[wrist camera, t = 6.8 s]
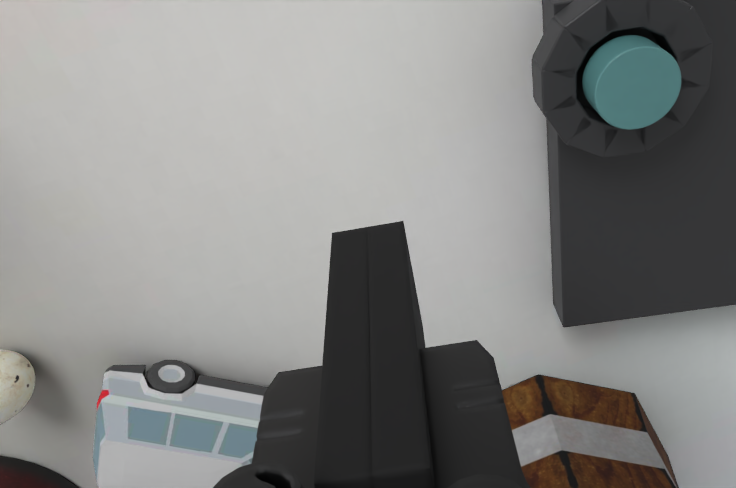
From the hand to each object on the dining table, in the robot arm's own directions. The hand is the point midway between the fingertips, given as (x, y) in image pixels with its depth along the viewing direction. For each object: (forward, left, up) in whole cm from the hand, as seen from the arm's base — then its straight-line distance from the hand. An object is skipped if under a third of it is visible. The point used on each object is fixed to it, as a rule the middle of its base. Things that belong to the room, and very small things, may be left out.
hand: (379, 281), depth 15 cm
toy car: (+16, -9, -14) cm, 23 cm away
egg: (+11, -19, -14) cm, 26 cm away
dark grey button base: (+5, +13, -14) cm, 20 cm away
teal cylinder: (0, +9, -11) cm, 14 cm away
